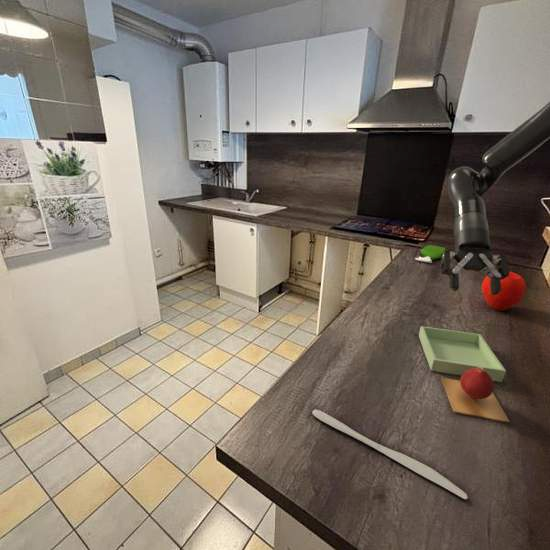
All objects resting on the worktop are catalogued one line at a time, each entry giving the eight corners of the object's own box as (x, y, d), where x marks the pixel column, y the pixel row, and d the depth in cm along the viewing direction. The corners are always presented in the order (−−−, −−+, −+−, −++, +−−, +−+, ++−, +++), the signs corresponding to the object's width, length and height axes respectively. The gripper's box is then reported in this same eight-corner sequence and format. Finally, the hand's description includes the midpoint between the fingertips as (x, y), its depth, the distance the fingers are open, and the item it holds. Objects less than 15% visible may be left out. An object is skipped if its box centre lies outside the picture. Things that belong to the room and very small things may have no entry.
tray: (477, 343, 81) (480, 334, 80) (501, 382, 68) (506, 371, 67) (418, 335, 85) (420, 326, 83) (430, 370, 71) (433, 359, 70)
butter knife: (317, 404, 60) (310, 413, 58) (468, 487, 46) (467, 504, 44) (317, 406, 61) (310, 415, 58) (467, 490, 46) (466, 506, 44)
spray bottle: (446, 253, 155) (435, 266, 138) (425, 249, 161) (411, 261, 144) (448, 248, 154) (436, 260, 137) (426, 244, 160) (412, 255, 143)
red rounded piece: (470, 384, 66) (480, 356, 63) (494, 403, 61) (506, 374, 58) (450, 390, 65) (459, 361, 62) (473, 410, 60) (485, 380, 57)
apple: (476, 296, 108) (487, 263, 103) (516, 305, 102) (529, 270, 97) (474, 309, 100) (486, 273, 94) (517, 320, 93) (533, 282, 88)
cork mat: (488, 386, 66) (488, 385, 66) (509, 423, 58) (509, 421, 57) (440, 378, 69) (441, 377, 68) (453, 412, 60) (454, 411, 60)
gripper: (446, 224, 74) (448, 283, 68) (510, 228, 71) (518, 290, 65) (436, 239, 81) (437, 293, 75) (494, 243, 78) (500, 300, 72)
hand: (475, 291), depth 70 cm, fingers open, 8 cm apart
